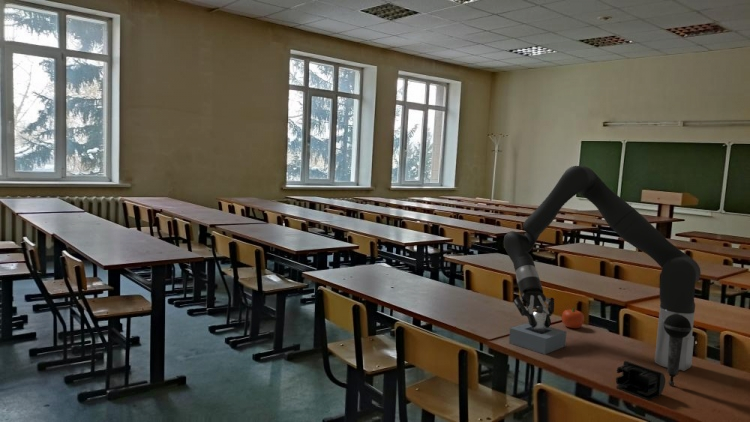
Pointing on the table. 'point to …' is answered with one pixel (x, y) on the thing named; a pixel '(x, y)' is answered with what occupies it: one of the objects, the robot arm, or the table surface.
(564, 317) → the pumpkin
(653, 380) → the end cap
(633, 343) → the table surface
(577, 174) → the robot arm
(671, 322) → the microphone
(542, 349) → the grey block with hole
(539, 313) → the silver bottle
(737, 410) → the table surface
